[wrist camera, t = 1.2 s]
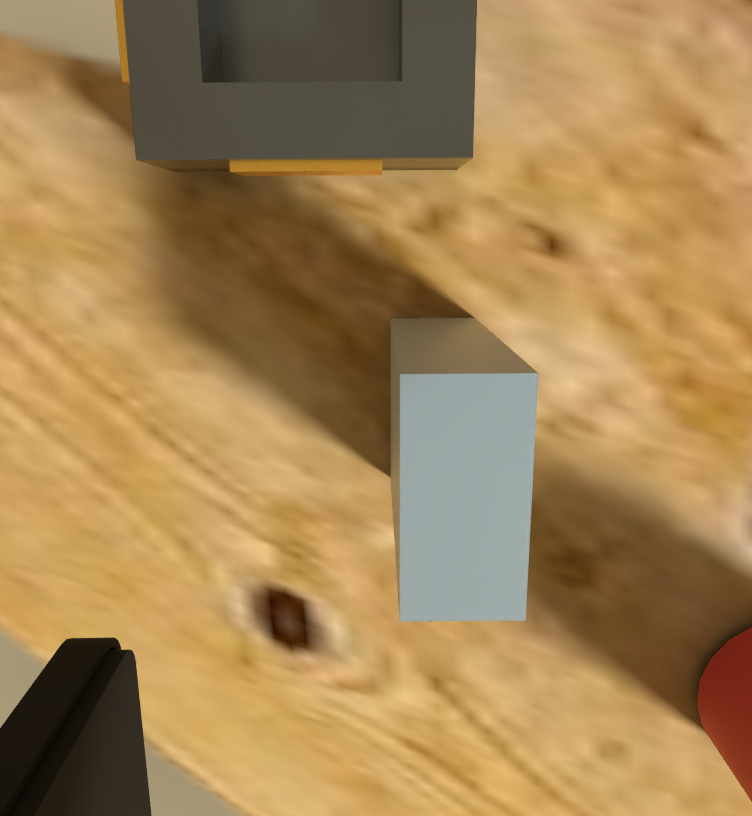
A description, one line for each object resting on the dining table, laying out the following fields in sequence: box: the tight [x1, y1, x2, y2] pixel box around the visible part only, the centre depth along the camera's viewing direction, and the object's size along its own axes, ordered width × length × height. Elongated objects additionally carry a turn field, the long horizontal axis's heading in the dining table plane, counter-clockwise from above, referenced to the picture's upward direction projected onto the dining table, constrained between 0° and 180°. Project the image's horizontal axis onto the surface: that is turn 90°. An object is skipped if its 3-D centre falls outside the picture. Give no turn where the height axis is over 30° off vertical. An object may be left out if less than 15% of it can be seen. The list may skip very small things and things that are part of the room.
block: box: [390, 318, 538, 621], centre depth 21 cm, size 3×6×10 cm, turn 0°
